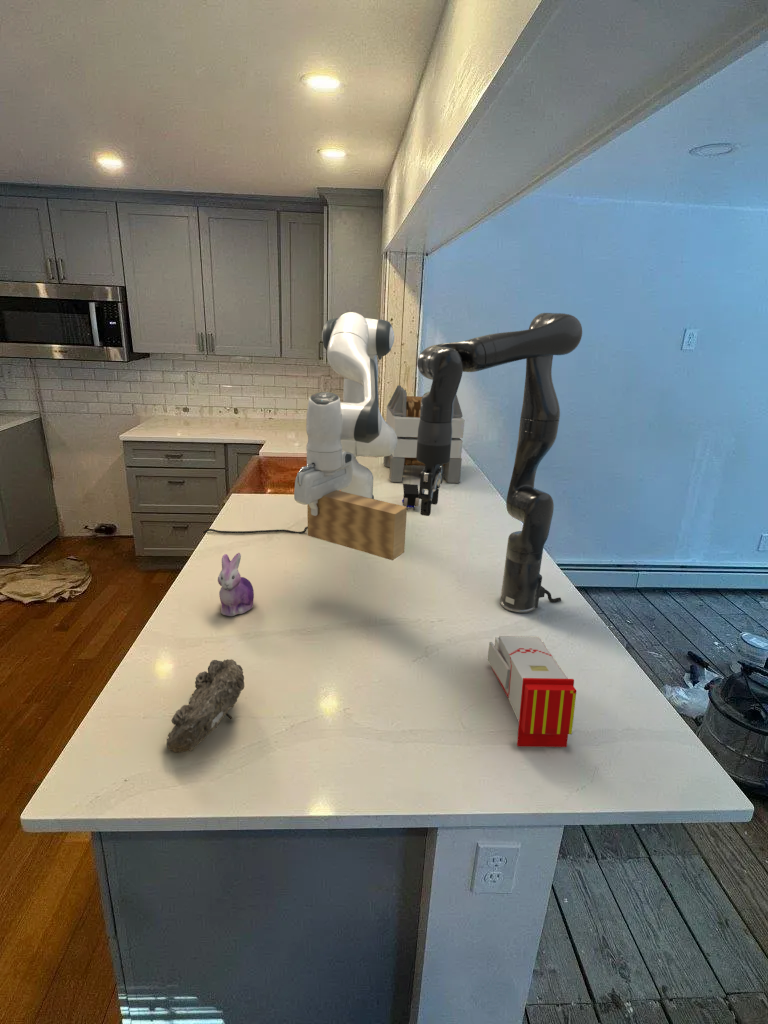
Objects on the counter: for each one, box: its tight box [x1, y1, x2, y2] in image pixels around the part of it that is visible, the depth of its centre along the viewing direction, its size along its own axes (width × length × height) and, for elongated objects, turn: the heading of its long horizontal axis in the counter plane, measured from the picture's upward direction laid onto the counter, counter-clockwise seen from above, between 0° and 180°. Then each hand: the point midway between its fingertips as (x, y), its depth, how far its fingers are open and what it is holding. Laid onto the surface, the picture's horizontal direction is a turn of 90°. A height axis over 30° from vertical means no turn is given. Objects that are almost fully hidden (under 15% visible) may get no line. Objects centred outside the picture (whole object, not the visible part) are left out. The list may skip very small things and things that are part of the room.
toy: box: [486, 635, 577, 748], centre depth 115 cm, size 12×13×30 cm
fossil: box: [166, 658, 245, 754], centre depth 106 cm, size 22×10×15 cm
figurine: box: [217, 552, 255, 617], centre depth 144 cm, size 9×10×15 cm
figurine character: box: [401, 483, 420, 511], centre depth 227 cm, size 7×8×15 cm
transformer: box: [383, 384, 465, 484], centre depth 268 cm, size 34×33×41 cm
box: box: [306, 490, 408, 561], centre depth 143 cm, size 26×6×12 cm, turn 59°
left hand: (324, 510), depth 147 cm, fingers closed on box, 6 cm apart
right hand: (429, 509), depth 131 cm, fingers open, 8 cm apart
